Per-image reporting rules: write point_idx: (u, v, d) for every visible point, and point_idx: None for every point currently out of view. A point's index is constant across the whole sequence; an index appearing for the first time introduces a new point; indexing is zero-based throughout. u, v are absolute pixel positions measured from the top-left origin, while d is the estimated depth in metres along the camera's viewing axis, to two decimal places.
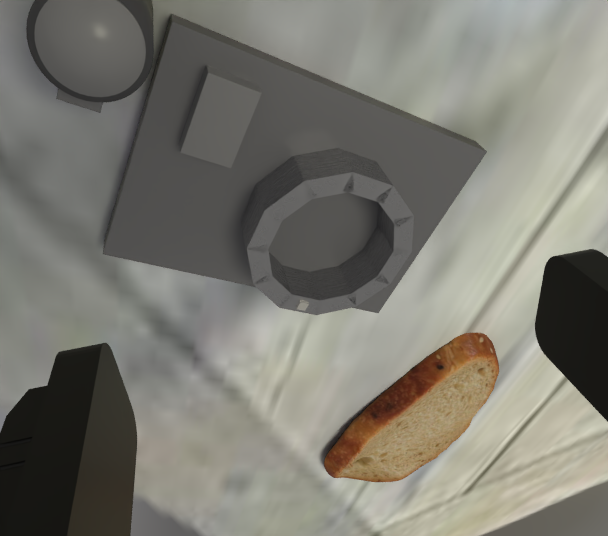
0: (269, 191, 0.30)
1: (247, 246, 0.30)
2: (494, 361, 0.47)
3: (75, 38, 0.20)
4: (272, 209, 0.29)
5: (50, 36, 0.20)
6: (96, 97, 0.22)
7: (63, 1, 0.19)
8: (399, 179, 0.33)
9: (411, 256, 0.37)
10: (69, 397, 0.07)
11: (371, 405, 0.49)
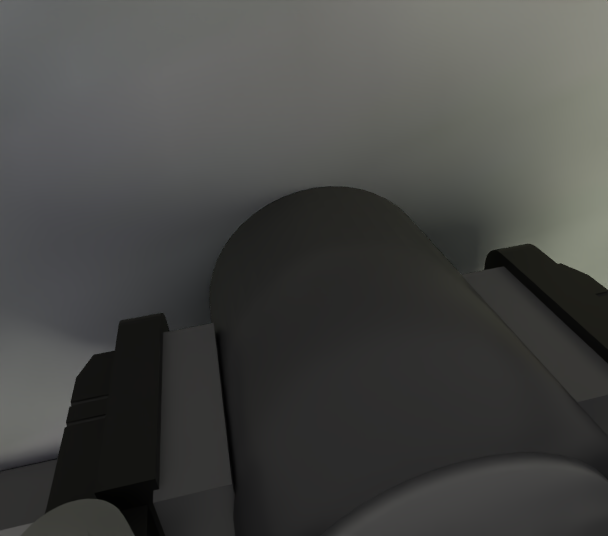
0: None
1: None
2: None
3: None
4: None
5: (451, 522, 0.05)
6: None
7: (583, 501, 0.05)
8: None
9: None
10: (138, 358, 0.08)
11: None
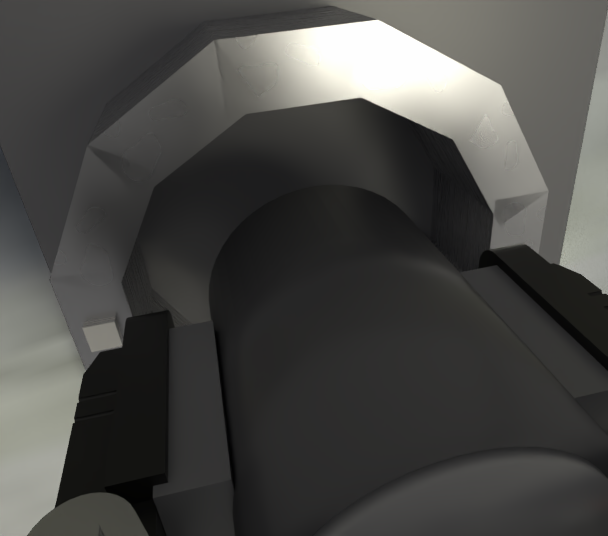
0: None
1: (221, 39, 0.08)
2: None
3: None
4: (388, 43, 0.09)
5: (448, 516, 0.05)
6: None
7: (580, 496, 0.05)
8: None
9: None
10: (144, 355, 0.08)
11: None
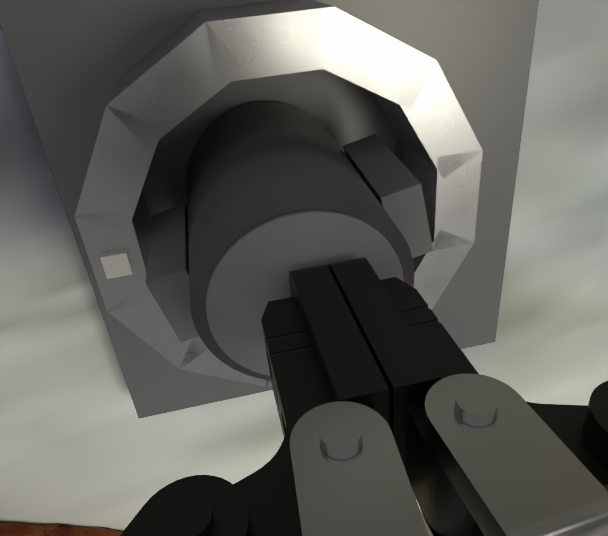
0: None
1: (211, 21, 0.11)
2: None
3: None
4: (343, 25, 0.11)
5: (276, 250, 0.10)
6: (225, 353, 0.11)
7: (350, 233, 0.10)
8: None
9: None
10: (323, 300, 0.09)
11: None
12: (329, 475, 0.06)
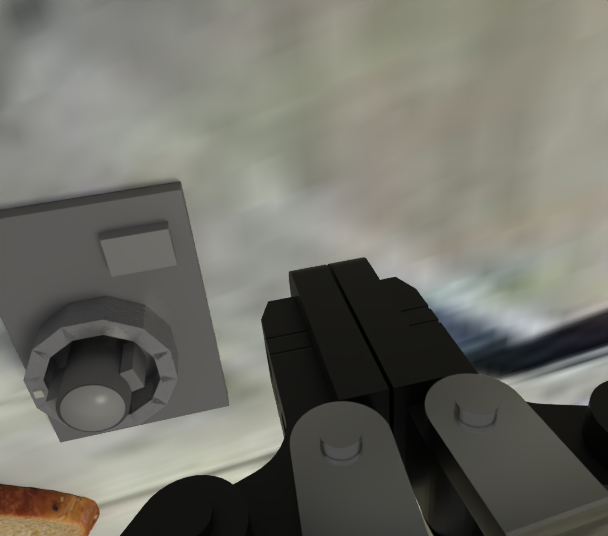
0: (113, 310, 0.37)
1: (63, 326, 0.35)
2: None
3: (89, 402, 0.35)
4: (107, 323, 0.36)
5: (78, 395, 0.34)
6: (69, 424, 0.35)
7: (100, 390, 0.34)
8: None
9: None
10: (324, 300, 0.09)
11: None
12: (329, 475, 0.06)
